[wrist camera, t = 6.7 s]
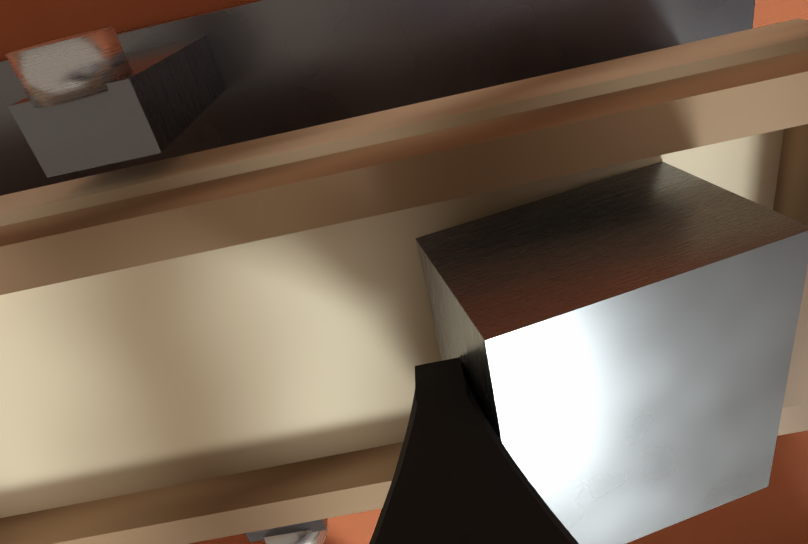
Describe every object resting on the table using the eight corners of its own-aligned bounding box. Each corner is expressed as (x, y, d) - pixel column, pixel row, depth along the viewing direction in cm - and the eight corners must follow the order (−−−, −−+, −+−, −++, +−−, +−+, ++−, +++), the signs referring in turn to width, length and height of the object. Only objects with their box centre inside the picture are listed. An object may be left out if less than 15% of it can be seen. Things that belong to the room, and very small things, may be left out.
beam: (798, 18, 10) (900, 37, 8) (751, 368, 14) (811, 435, 12) (-445, 294, 11) (-610, 367, 9) (-161, 541, 15) (-236, 627, 13)
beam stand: (754, -134, 12) (989, -177, 7) (712, 342, 18) (824, 479, 14) (-356, 130, 14) (-723, 227, 9) (-45, 477, 20) (-170, 637, 16)
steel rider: (662, 161, 10) (814, 228, 7) (656, 379, 12) (768, 486, 10) (415, 238, 9) (485, 341, 7) (461, 450, 12) (526, 583, 9)
